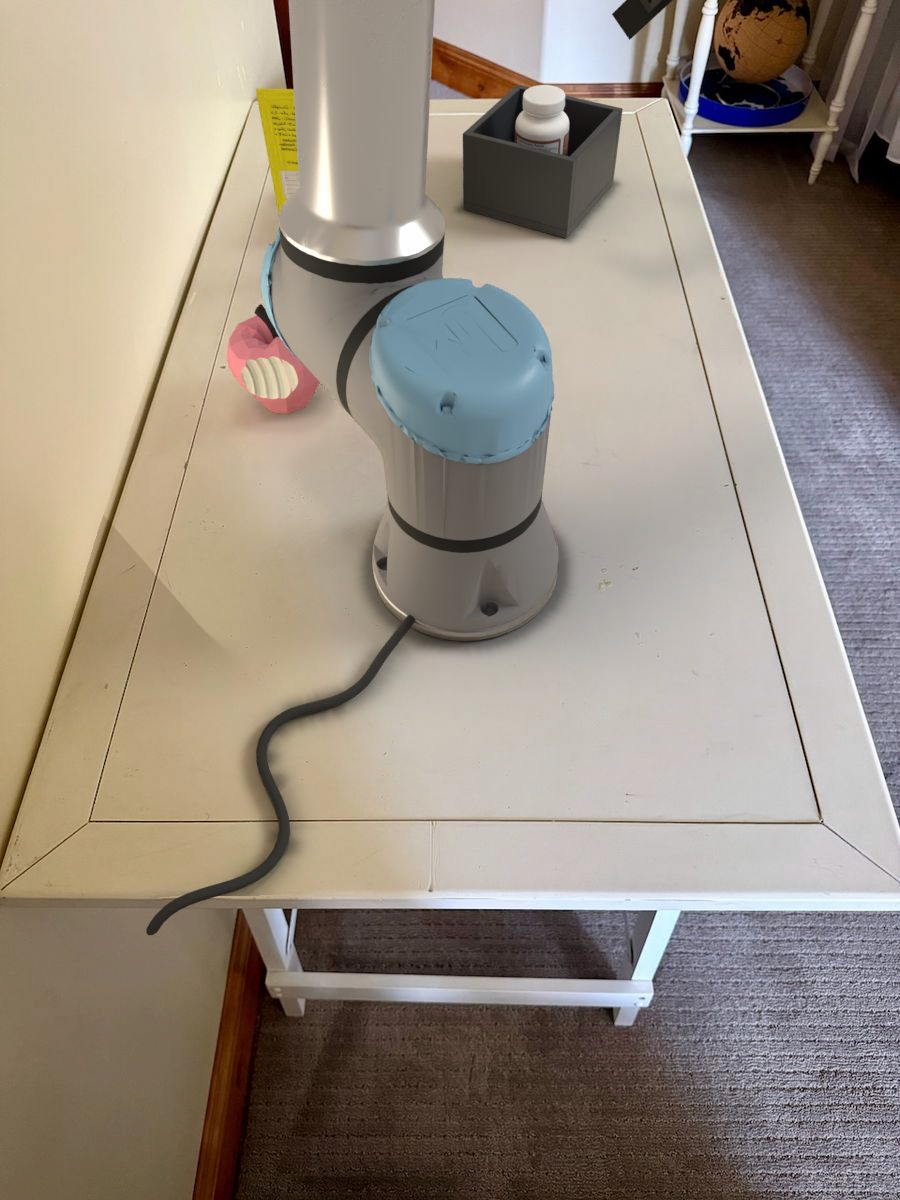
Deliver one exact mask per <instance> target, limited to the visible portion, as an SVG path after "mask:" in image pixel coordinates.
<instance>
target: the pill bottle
mask: <svg viewBox="0 0 900 1200" xmlns="http://www.w3.org/2000/svg"><path fill="white" fill-rule="evenodd" d="M529 87H530V88H528V89H527V90H526V91H525V92H524V94H523V111H522V112H521V113H520V114H519V115H518V117H517V119H516V124H515V143H517V144H521V145H525V146H529V147H533V148H537V149H541V150H545V151H549V152H553V153H557V154H561V155H565V156H567V150H568V138H569V119H568V116H567V115H566V113H565V112H564V111H563V110H564V107H565V95H566V93H565V91H564V90H563V89H562V88H560V87H559V86H555V85H549V84H540V85H533V86H529Z"/></svg>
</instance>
